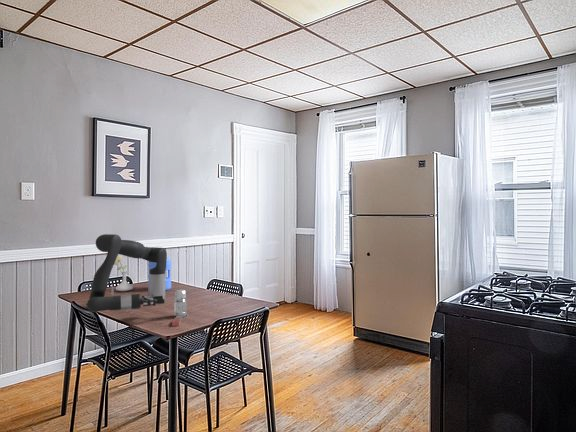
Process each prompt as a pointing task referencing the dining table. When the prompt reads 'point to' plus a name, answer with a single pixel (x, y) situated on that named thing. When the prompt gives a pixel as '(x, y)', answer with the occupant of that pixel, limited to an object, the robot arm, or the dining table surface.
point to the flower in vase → (124, 284)
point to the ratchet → (178, 318)
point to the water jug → (168, 267)
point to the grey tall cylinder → (180, 301)
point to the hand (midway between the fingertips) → (163, 299)
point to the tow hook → (112, 290)
